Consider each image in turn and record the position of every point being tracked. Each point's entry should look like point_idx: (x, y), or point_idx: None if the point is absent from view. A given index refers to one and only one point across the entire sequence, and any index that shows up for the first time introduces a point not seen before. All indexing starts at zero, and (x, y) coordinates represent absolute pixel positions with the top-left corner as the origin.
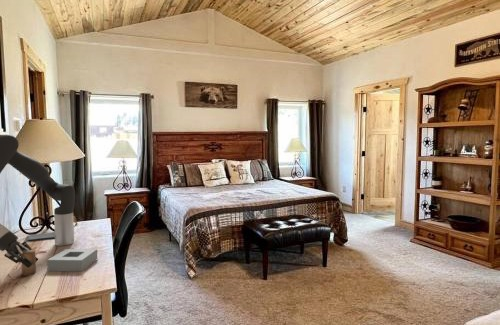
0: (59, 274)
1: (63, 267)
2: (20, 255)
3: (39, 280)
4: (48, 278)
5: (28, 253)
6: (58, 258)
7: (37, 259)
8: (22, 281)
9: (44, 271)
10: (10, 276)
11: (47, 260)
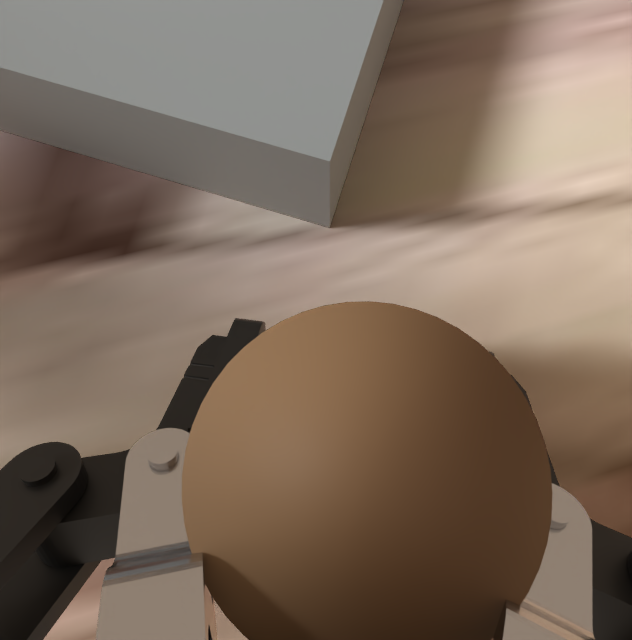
0: (475, 80)
1: (390, 27)
2: (586, 626)
3: (611, 238)
4: (571, 161)
5: (533, 429)
6: (308, 14)
7: (262, 323)
8: (602, 413)
9: (332, 259)
10: None
11: (329, 165)
